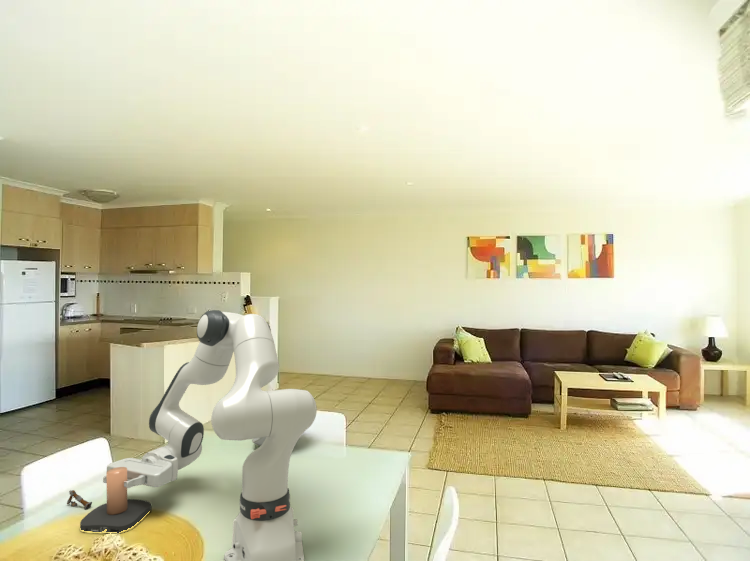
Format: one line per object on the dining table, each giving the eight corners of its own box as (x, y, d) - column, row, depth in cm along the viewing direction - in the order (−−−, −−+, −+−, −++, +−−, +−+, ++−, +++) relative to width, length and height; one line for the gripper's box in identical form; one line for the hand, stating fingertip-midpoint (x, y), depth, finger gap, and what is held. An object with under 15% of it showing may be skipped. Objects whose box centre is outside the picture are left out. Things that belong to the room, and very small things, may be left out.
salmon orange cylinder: (126, 512, 122) (126, 472, 122) (105, 516, 120) (105, 475, 120) (128, 504, 126) (128, 465, 127) (108, 508, 124) (107, 468, 125)
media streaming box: (156, 508, 130) (156, 498, 130) (127, 536, 116) (127, 524, 116) (107, 508, 131) (108, 497, 131) (72, 535, 116) (73, 523, 116)
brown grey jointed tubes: (68, 500, 132) (73, 487, 132) (87, 514, 130) (92, 501, 130) (62, 503, 131) (67, 489, 130) (81, 517, 129) (87, 504, 128)
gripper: (131, 449, 139) (89, 465, 126) (181, 458, 132) (142, 476, 119) (130, 470, 139) (88, 488, 126) (181, 480, 132) (141, 500, 119)
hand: (115, 482), depth 123 cm, fingers open, 7 cm apart
